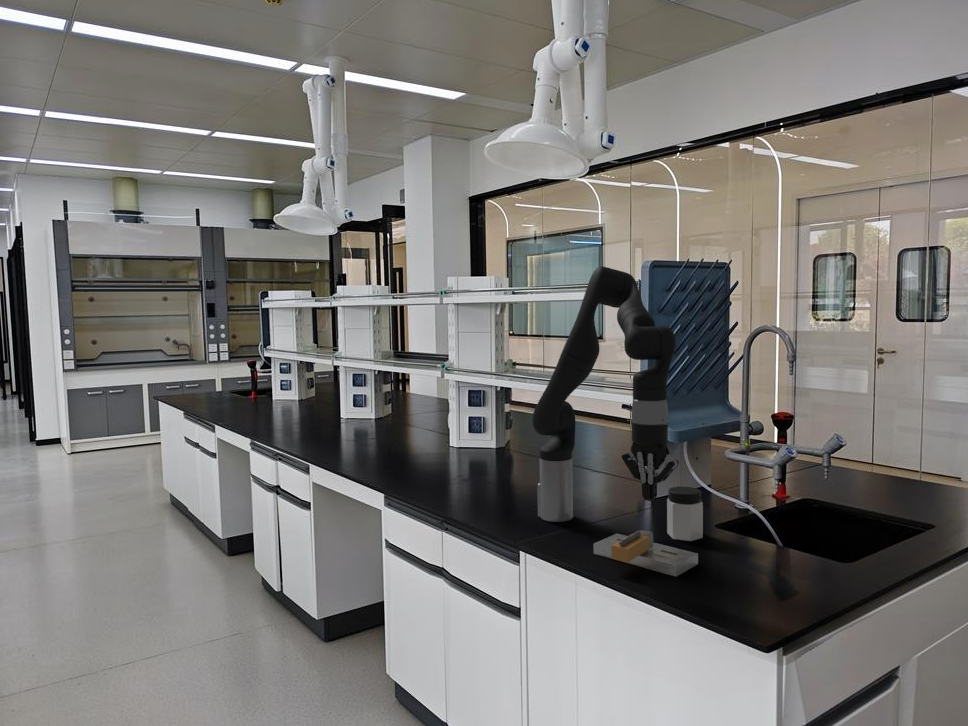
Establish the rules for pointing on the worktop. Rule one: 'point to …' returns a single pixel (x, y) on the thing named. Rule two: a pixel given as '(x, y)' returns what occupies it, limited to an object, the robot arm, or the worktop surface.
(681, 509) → the jar
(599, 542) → the plate
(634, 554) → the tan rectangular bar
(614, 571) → the worktop surface
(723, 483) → the worktop surface
